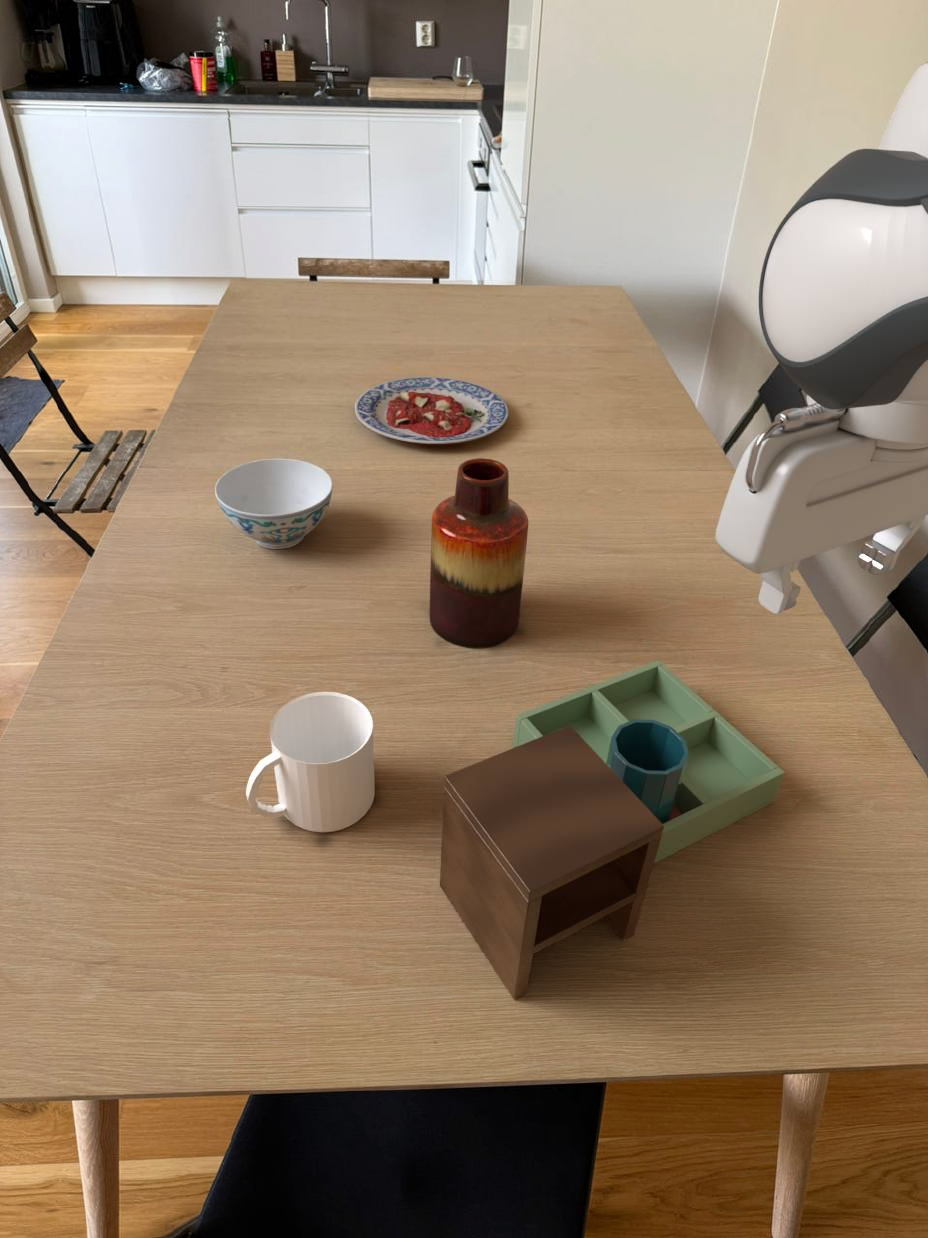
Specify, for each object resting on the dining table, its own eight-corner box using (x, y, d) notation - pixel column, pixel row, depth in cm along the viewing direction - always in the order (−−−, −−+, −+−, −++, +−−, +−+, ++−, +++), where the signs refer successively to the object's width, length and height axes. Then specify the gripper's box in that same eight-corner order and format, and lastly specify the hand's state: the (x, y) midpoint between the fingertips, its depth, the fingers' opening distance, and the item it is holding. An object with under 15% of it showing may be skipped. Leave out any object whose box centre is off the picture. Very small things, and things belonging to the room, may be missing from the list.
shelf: (634, 934, 74) (664, 826, 66) (514, 1000, 69) (530, 892, 61) (552, 833, 82) (570, 724, 74) (439, 885, 77) (444, 775, 69)
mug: (357, 751, 89) (353, 682, 84) (388, 817, 83) (387, 746, 77) (237, 785, 85) (226, 714, 80) (261, 857, 79) (249, 786, 73)
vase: (502, 588, 113) (515, 442, 100) (530, 641, 105) (548, 489, 92) (420, 599, 110) (422, 450, 98) (442, 654, 102) (447, 499, 89)
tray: (773, 802, 86) (785, 772, 84) (624, 878, 79) (632, 848, 76) (651, 689, 99) (658, 659, 96) (512, 745, 91) (515, 715, 88)
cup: (683, 824, 83) (704, 757, 77) (628, 852, 80) (644, 784, 74) (638, 777, 87) (654, 710, 81) (584, 802, 84) (597, 734, 79)
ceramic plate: (331, 439, 143) (330, 422, 141) (384, 380, 163) (384, 364, 161) (486, 465, 138) (487, 448, 137) (521, 401, 158) (523, 385, 156)
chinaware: (324, 571, 114) (320, 519, 109) (208, 562, 114) (199, 510, 110) (343, 511, 126) (341, 462, 121) (238, 503, 126) (232, 454, 122)
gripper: (809, 441, 43) (746, 661, 52) (1051, 374, 52) (964, 571, 60) (718, 395, 48) (673, 605, 56) (956, 340, 57) (887, 528, 65)
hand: (826, 586), depth 58 cm, fingers open, 8 cm apart
